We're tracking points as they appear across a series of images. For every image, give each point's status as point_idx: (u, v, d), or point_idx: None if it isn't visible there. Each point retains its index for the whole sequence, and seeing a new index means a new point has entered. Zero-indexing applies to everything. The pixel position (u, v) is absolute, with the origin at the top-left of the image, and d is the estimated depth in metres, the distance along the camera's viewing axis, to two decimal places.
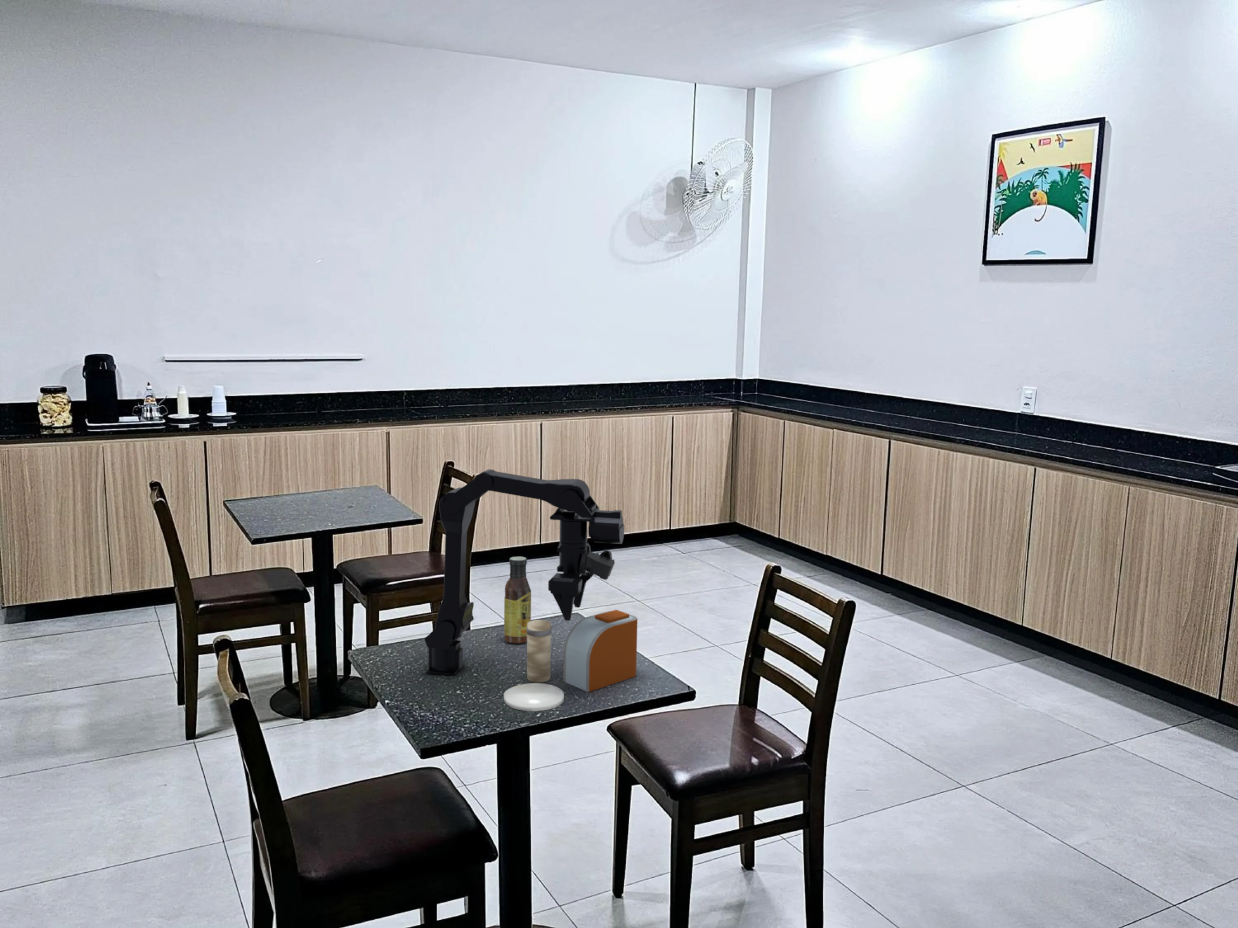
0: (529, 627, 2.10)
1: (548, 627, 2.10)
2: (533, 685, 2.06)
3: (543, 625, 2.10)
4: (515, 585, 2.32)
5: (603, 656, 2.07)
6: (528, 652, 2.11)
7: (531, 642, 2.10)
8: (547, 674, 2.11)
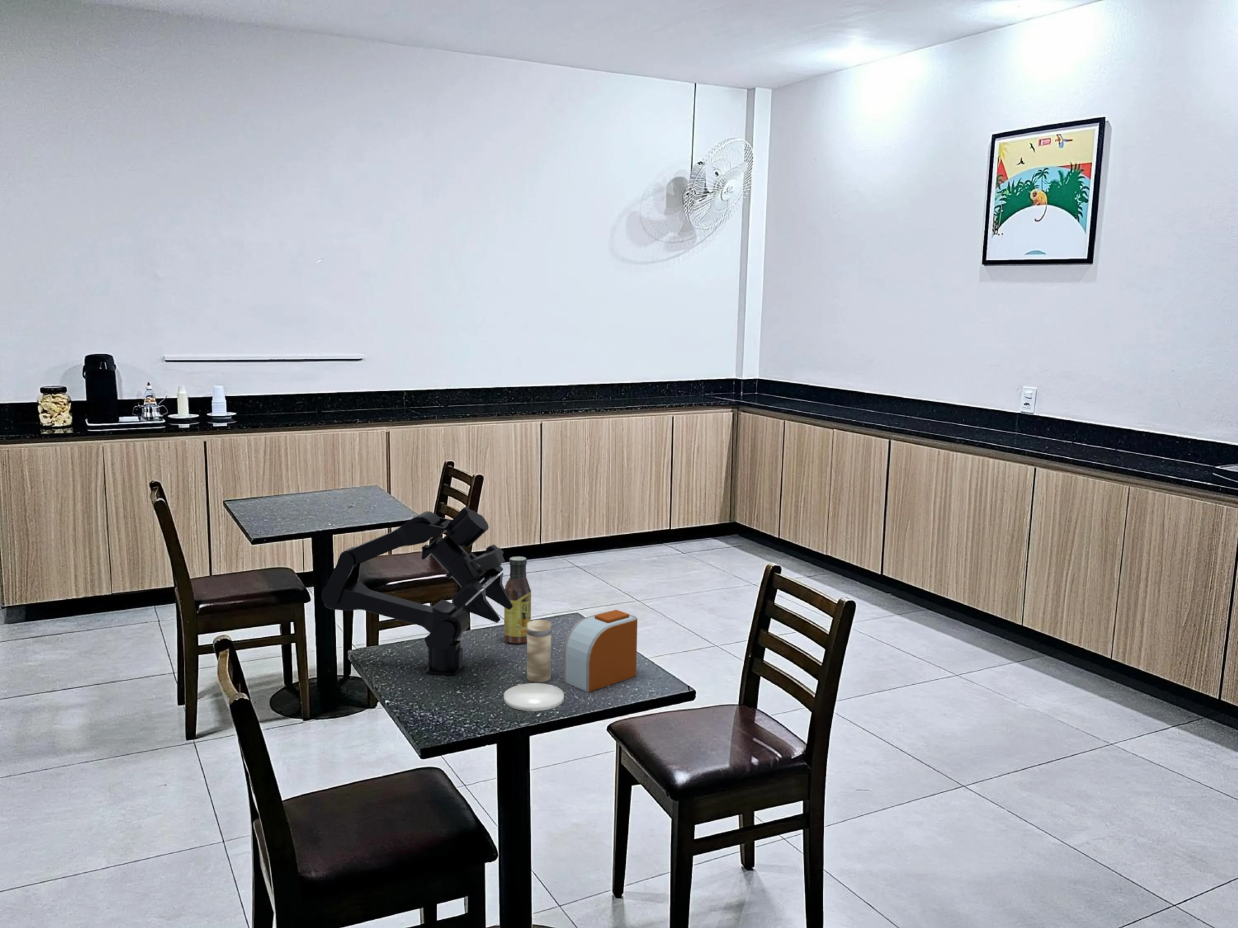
0: (529, 627, 2.10)
1: (548, 627, 2.10)
2: (533, 685, 2.06)
3: (543, 625, 2.10)
4: (515, 585, 2.32)
5: (603, 656, 2.07)
6: (528, 652, 2.11)
7: (531, 642, 2.10)
8: (547, 674, 2.11)
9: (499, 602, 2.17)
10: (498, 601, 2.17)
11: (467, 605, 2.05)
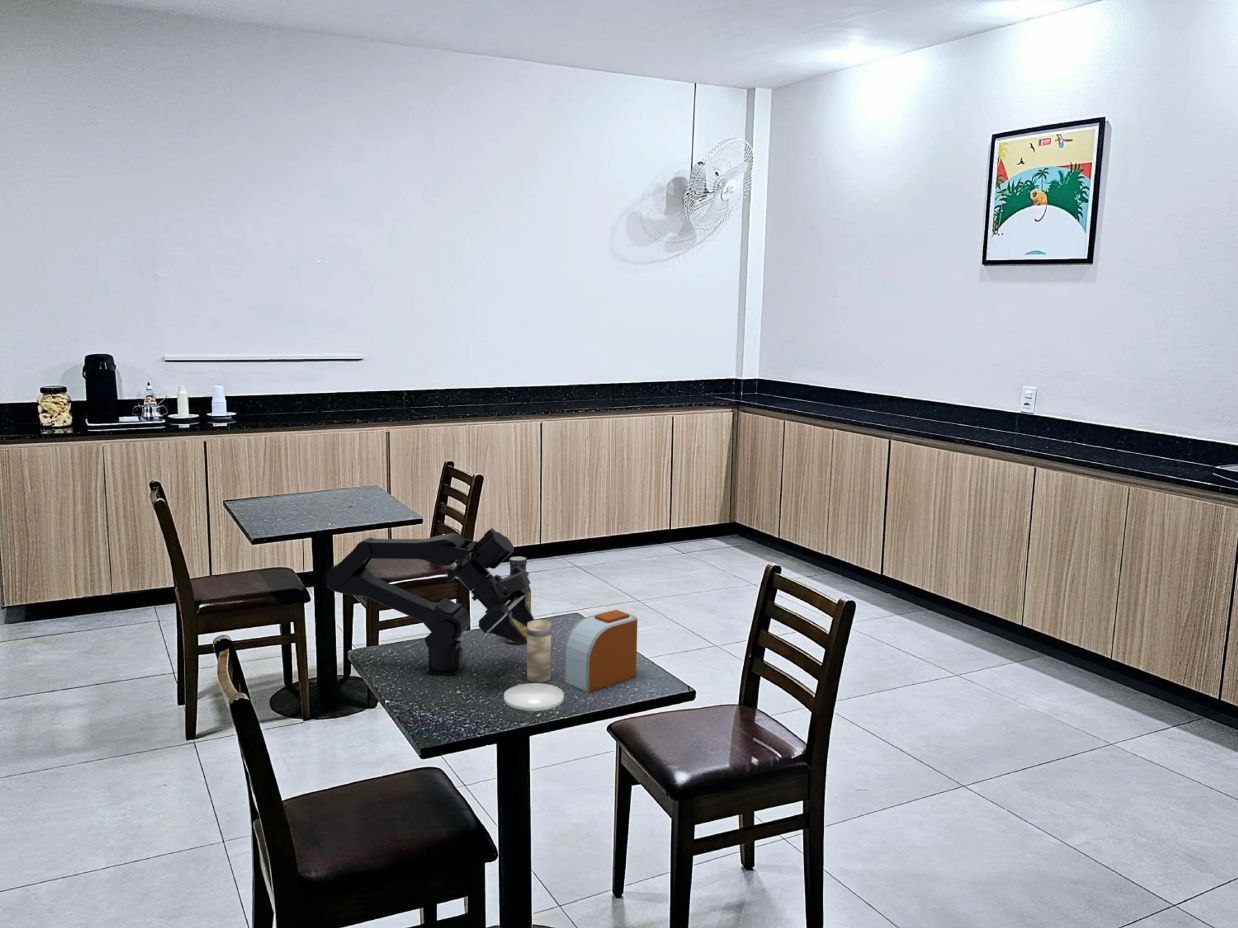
0: (529, 627, 2.10)
1: (548, 627, 2.10)
2: (533, 685, 2.06)
3: (543, 625, 2.10)
4: None
5: (603, 656, 2.07)
6: (528, 652, 2.11)
7: (531, 642, 2.10)
8: (547, 674, 2.11)
9: (524, 623, 2.17)
10: (523, 622, 2.17)
11: (494, 628, 2.05)
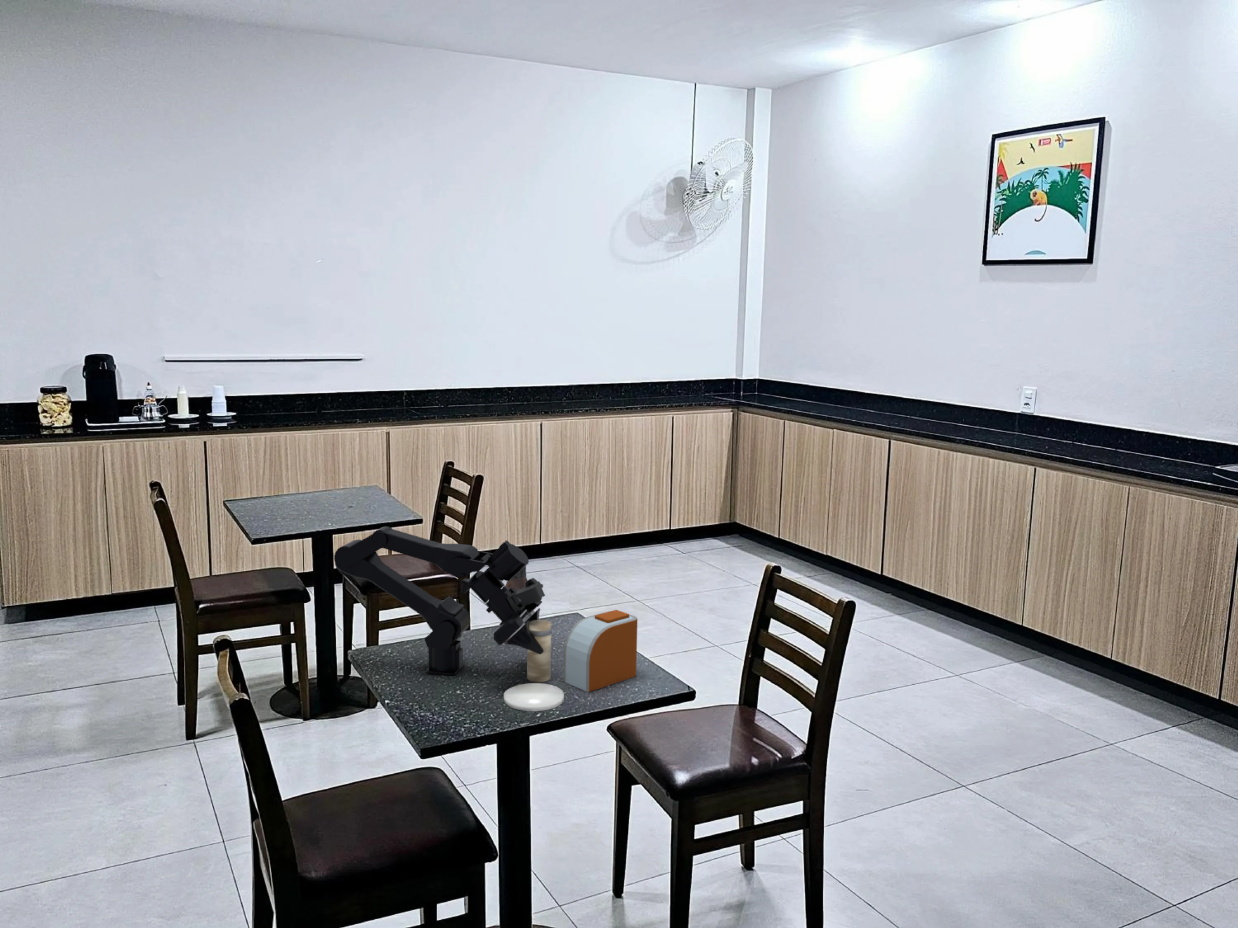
0: (529, 627, 2.10)
1: (548, 627, 2.10)
2: (533, 685, 2.06)
3: (543, 625, 2.10)
4: (515, 585, 2.32)
5: (603, 656, 2.07)
6: (528, 652, 2.11)
7: None
8: (547, 674, 2.11)
9: None
10: None
11: (511, 637, 2.06)
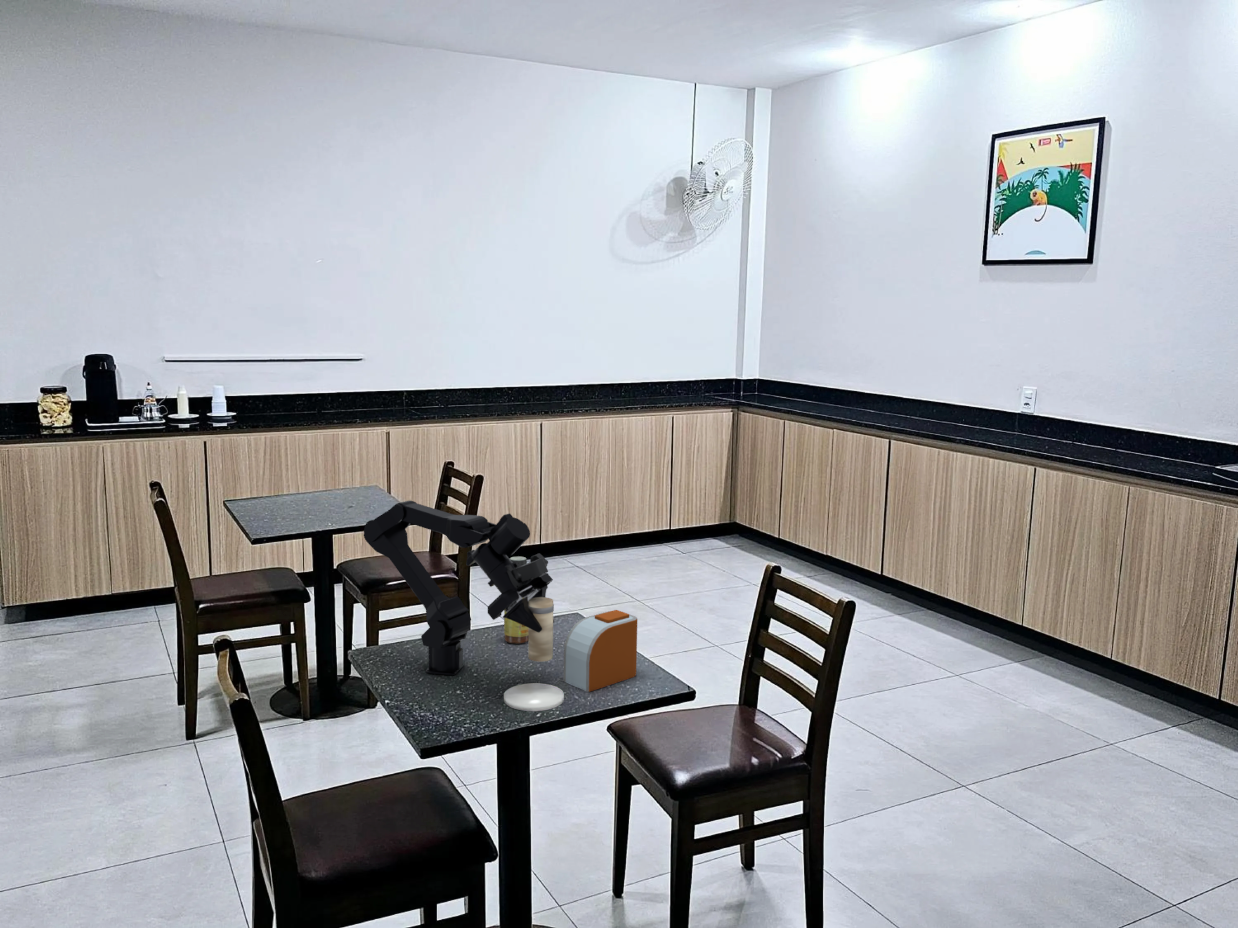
0: (529, 603, 2.02)
1: (548, 605, 2.01)
2: (533, 685, 2.06)
3: (544, 602, 2.02)
4: None
5: (603, 656, 2.07)
6: (528, 629, 2.03)
7: None
8: (547, 653, 2.03)
9: None
10: None
11: (507, 612, 1.99)
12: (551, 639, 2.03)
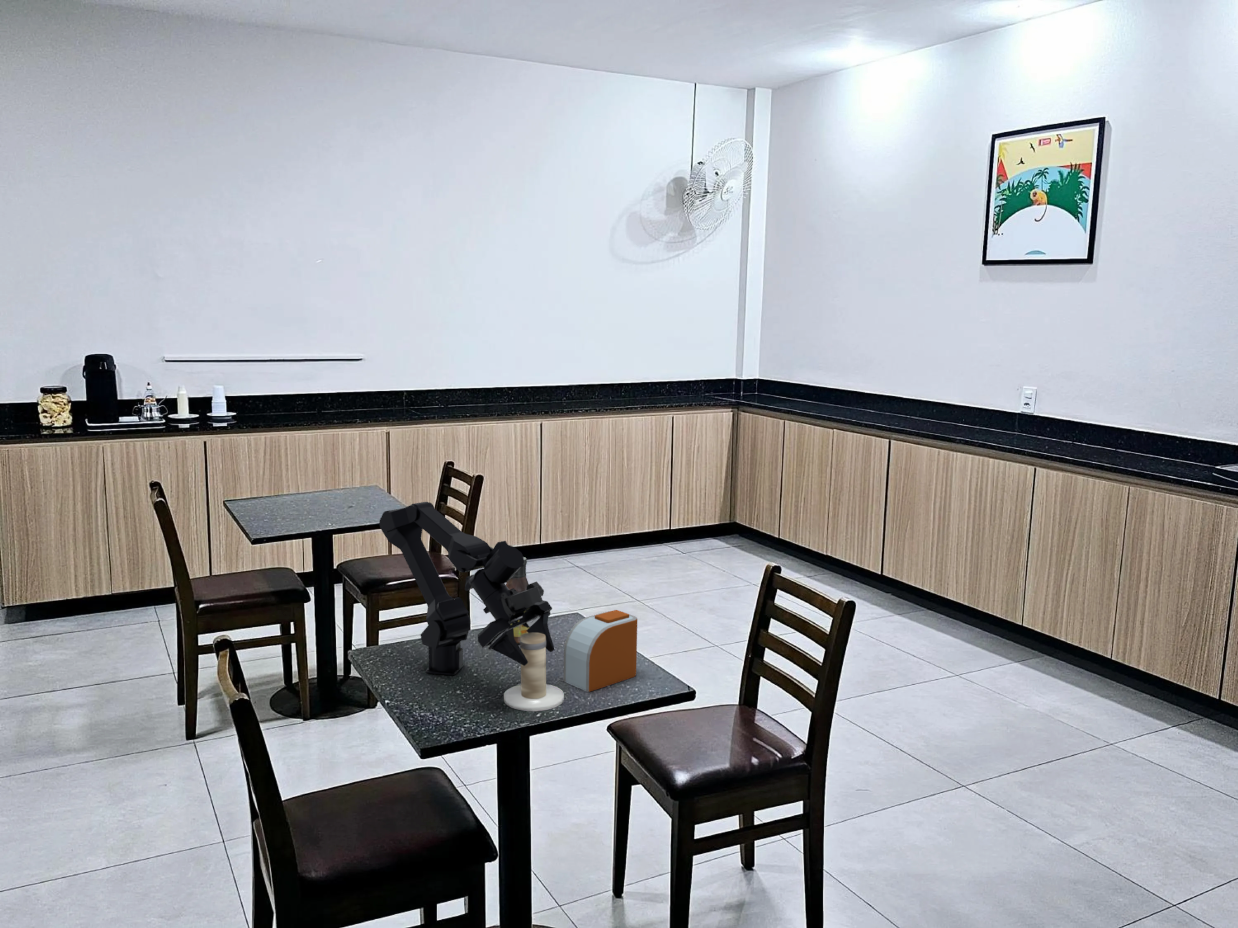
0: (521, 639, 1.99)
1: (539, 641, 1.98)
2: None
3: (535, 638, 1.98)
4: (515, 585, 2.32)
5: (603, 656, 2.07)
6: (521, 665, 2.00)
7: None
8: (538, 690, 1.99)
9: None
10: None
11: (492, 644, 1.95)
12: (543, 676, 2.00)
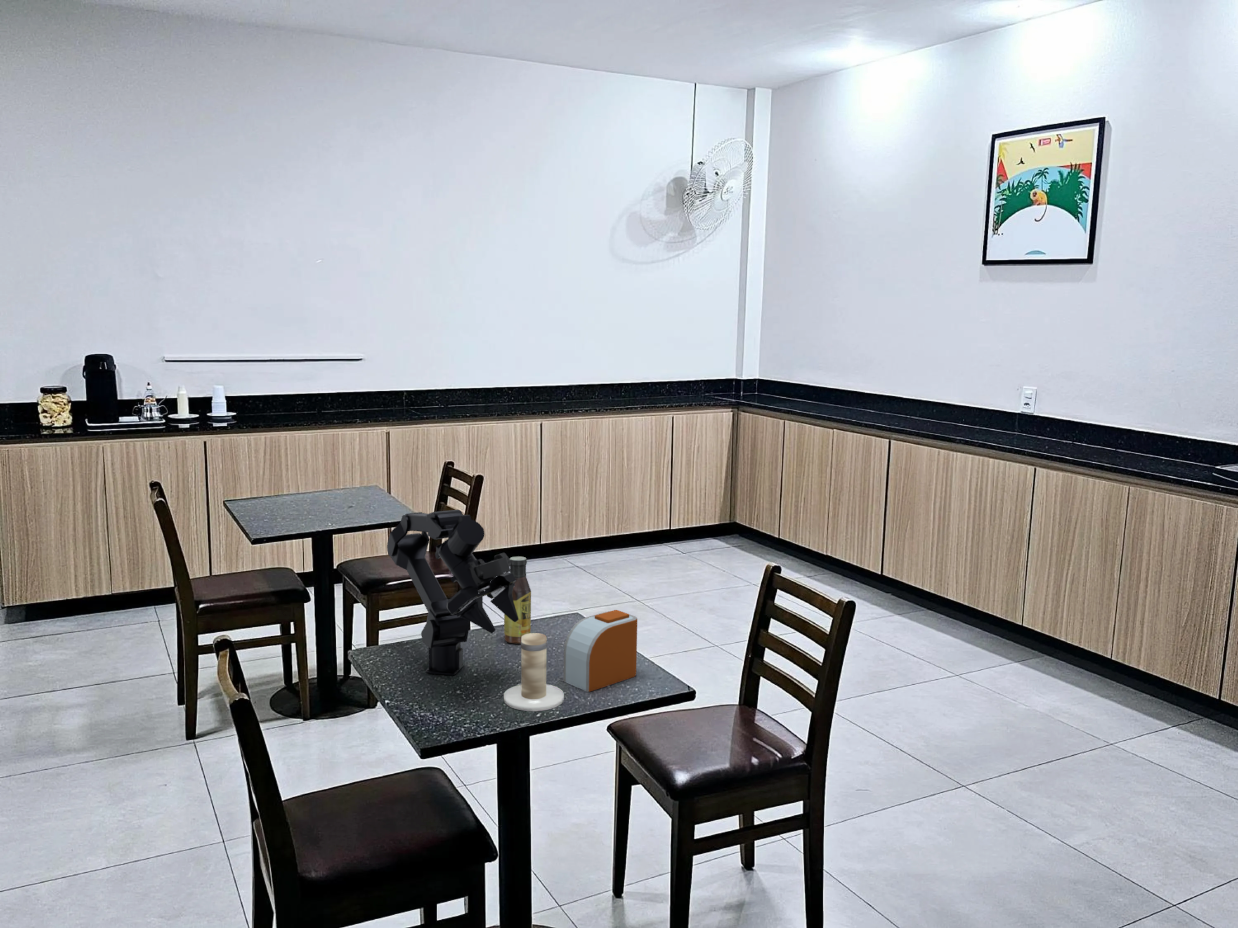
0: (521, 640, 1.99)
1: (540, 642, 1.98)
2: None
3: (536, 639, 1.98)
4: (515, 585, 2.32)
5: (603, 656, 2.07)
6: (521, 666, 2.00)
7: (523, 655, 1.99)
8: (538, 691, 1.99)
9: (506, 613, 2.09)
10: (505, 612, 2.09)
11: (461, 611, 1.99)
12: (543, 677, 2.00)
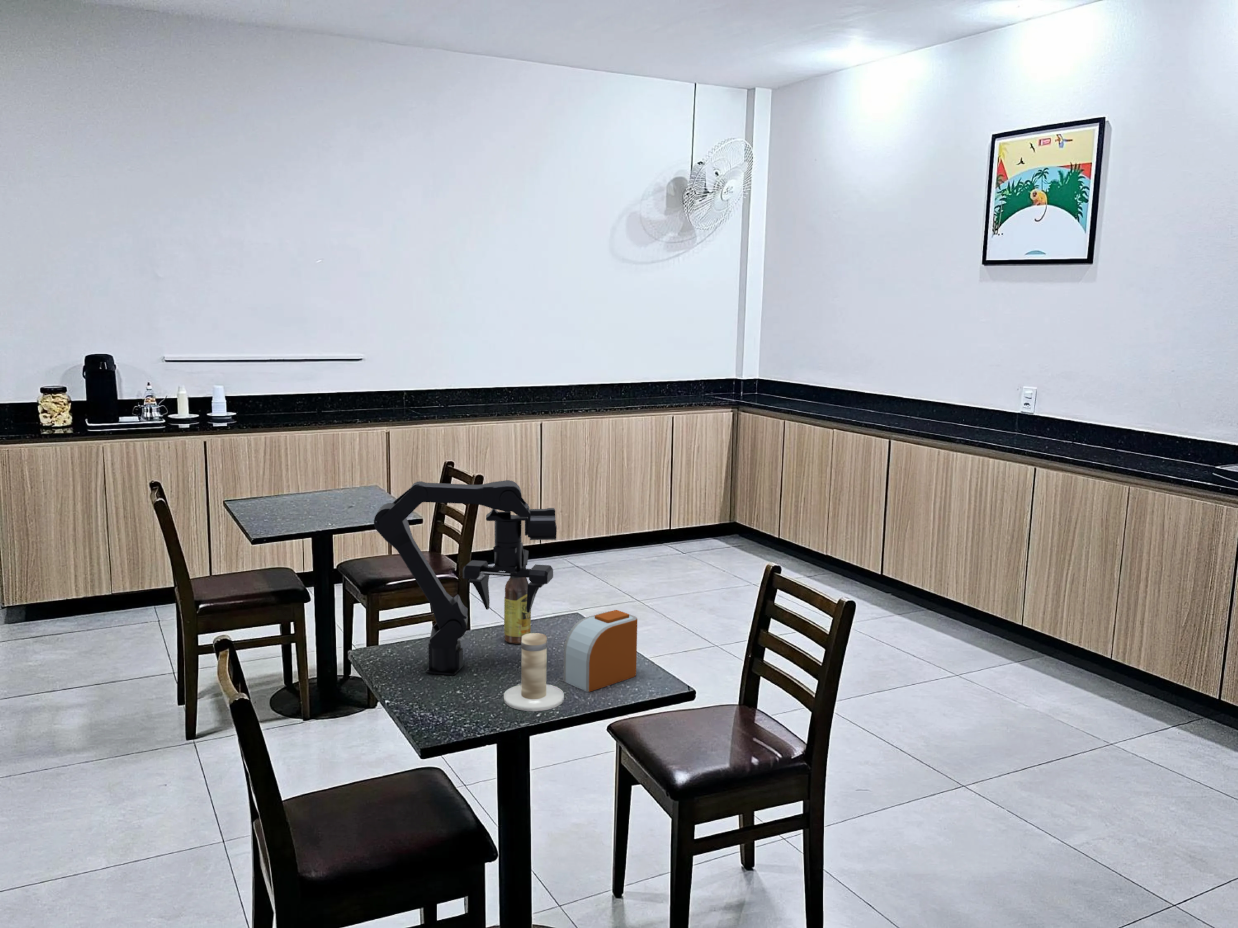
0: (522, 640, 1.99)
1: (540, 642, 1.98)
2: None
3: (536, 639, 1.98)
4: (515, 585, 2.32)
5: (603, 656, 2.07)
6: (521, 666, 2.00)
7: (523, 655, 1.99)
8: (538, 691, 1.99)
9: (486, 598, 2.16)
10: (486, 597, 2.16)
11: (542, 584, 2.13)
12: (543, 677, 2.00)
